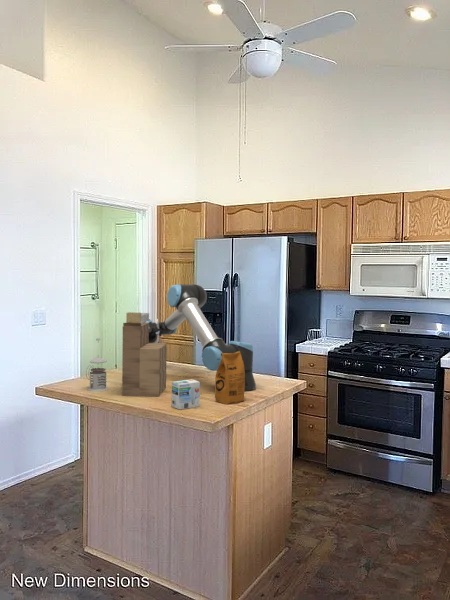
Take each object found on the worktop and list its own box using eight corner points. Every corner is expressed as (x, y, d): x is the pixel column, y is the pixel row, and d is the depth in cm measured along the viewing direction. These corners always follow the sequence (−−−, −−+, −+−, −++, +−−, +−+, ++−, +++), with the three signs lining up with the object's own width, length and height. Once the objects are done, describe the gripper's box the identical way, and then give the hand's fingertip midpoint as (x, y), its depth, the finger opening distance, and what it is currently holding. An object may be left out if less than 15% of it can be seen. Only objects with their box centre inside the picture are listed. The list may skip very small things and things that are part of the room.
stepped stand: (132, 386, 258) (132, 319, 257) (166, 387, 258) (166, 320, 256) (122, 395, 239) (122, 323, 237) (158, 396, 238) (159, 324, 236)
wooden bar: (139, 320, 268) (139, 308, 268) (151, 320, 268) (151, 309, 267) (126, 325, 240) (126, 312, 240) (139, 326, 240) (139, 313, 239)
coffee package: (211, 400, 232) (212, 351, 231) (234, 397, 239) (234, 349, 238) (224, 405, 224) (225, 354, 223) (247, 401, 231) (248, 352, 230)
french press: (112, 388, 253) (112, 337, 252) (94, 393, 243) (94, 340, 242) (98, 386, 258) (98, 336, 257) (80, 390, 249) (80, 338, 247)
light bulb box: (178, 410, 215) (179, 384, 215) (170, 406, 221) (170, 381, 220) (200, 406, 222) (200, 381, 221) (191, 403, 227) (192, 378, 227)
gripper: (172, 344, 282) (167, 328, 264) (127, 343, 284) (118, 327, 265) (173, 331, 286) (168, 314, 267) (129, 330, 287) (120, 313, 268)
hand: (143, 320), depth 266 cm, fingers open, 13 cm apart
